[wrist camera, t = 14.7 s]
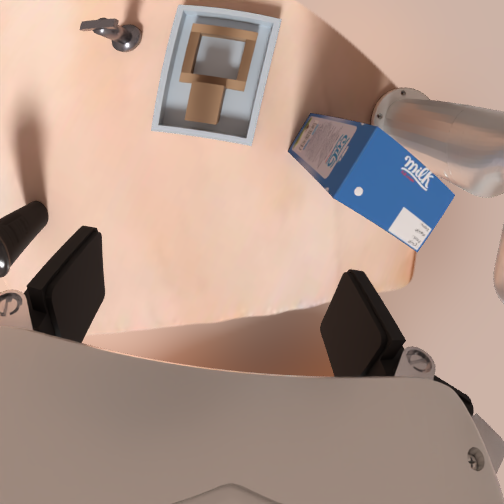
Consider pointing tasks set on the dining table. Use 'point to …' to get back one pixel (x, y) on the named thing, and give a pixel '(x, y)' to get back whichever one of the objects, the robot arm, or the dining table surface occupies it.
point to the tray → (215, 73)
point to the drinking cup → (19, 232)
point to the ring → (209, 87)
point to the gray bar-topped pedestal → (115, 33)
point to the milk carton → (372, 176)
